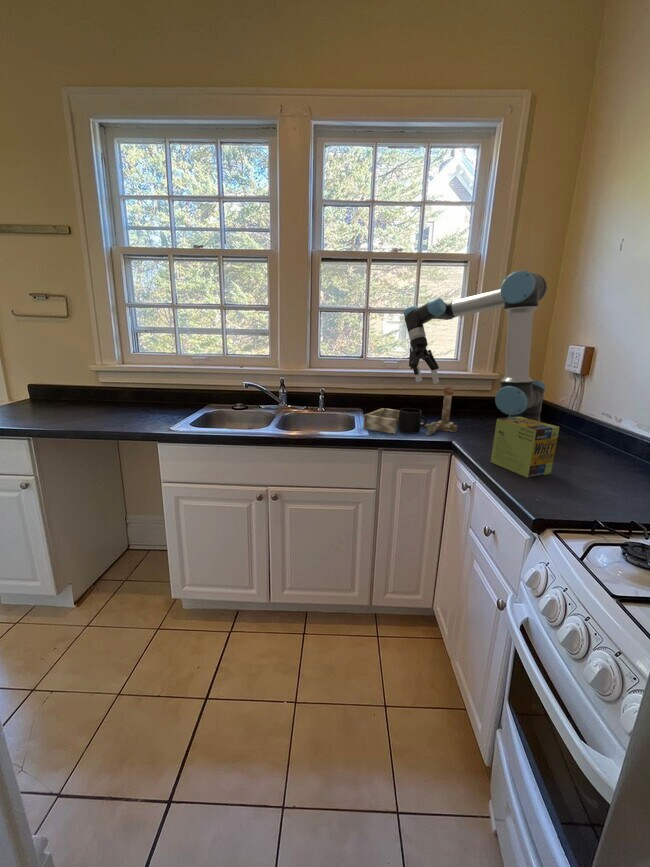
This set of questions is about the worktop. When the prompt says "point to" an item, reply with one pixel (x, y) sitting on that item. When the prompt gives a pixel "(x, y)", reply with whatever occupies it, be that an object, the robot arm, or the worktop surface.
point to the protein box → (524, 446)
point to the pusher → (443, 413)
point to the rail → (453, 428)
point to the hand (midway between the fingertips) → (428, 382)
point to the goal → (382, 420)
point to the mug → (410, 420)
